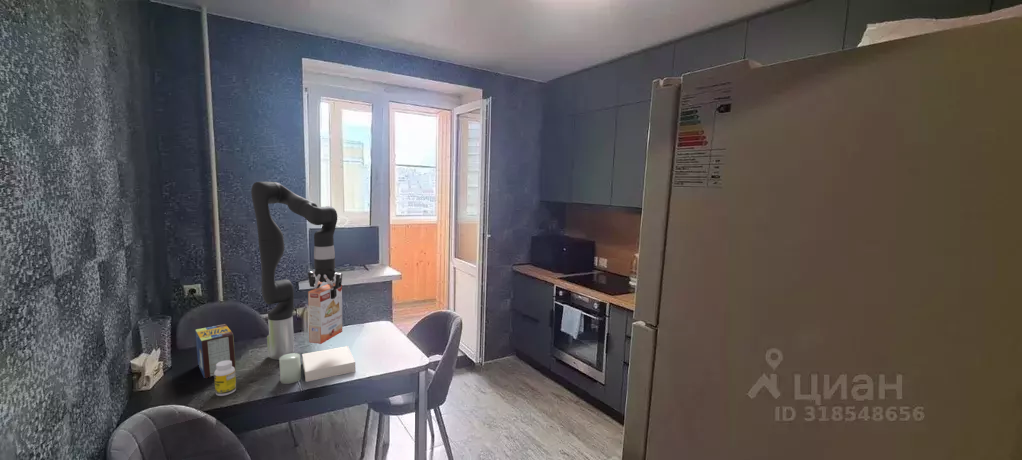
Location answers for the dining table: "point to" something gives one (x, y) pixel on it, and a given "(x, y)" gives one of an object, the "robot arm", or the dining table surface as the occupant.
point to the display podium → (328, 363)
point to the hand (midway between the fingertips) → (325, 297)
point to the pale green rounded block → (290, 368)
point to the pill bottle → (224, 378)
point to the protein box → (214, 348)
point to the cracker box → (324, 314)
